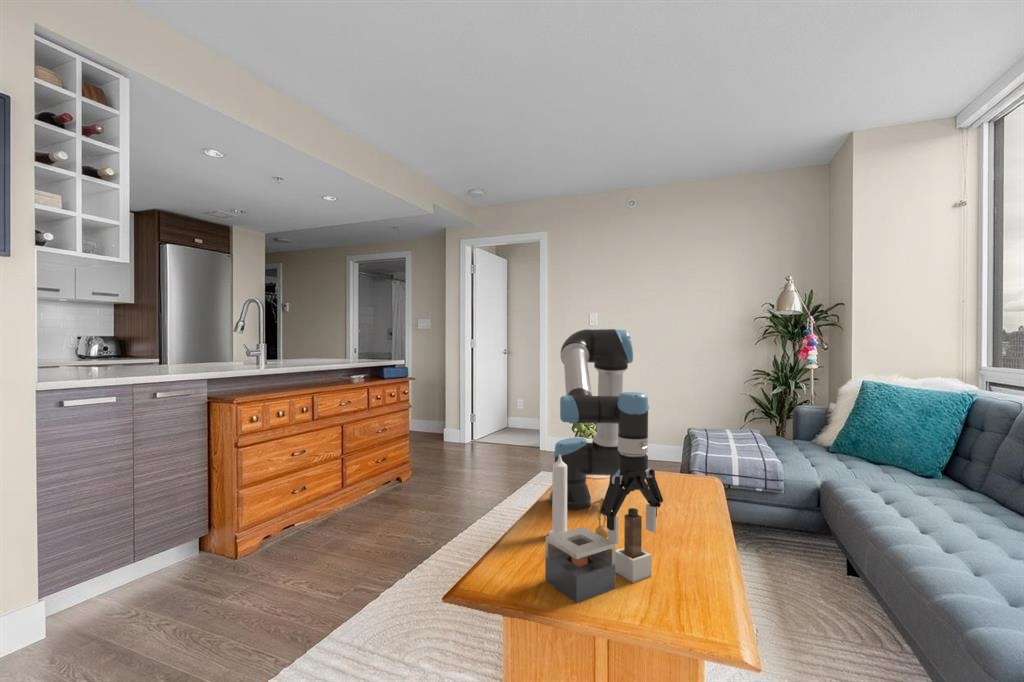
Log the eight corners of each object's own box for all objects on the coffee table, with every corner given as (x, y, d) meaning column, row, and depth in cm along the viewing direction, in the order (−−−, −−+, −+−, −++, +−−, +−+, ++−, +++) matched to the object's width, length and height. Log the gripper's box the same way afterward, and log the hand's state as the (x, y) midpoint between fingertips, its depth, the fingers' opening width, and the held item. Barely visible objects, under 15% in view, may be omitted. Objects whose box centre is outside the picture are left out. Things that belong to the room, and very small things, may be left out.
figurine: (587, 540, 143) (587, 500, 143) (589, 532, 149) (589, 494, 149) (615, 543, 141) (615, 502, 141) (616, 535, 147) (616, 496, 147)
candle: (543, 536, 146) (543, 454, 146) (557, 529, 152) (557, 450, 152) (561, 542, 142) (562, 458, 142) (575, 535, 147) (576, 454, 147)
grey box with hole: (545, 580, 119) (545, 536, 119) (582, 568, 125) (582, 526, 125) (576, 603, 109) (576, 554, 109) (615, 588, 115) (615, 543, 115)
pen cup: (613, 572, 124) (613, 550, 124) (632, 565, 127) (632, 545, 127) (632, 583, 118) (632, 560, 118) (651, 576, 122) (651, 554, 122)
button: (568, 581, 118) (568, 557, 118) (580, 577, 120) (580, 553, 120) (578, 588, 114) (578, 563, 114) (591, 584, 116) (591, 559, 116)
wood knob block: (624, 571, 123) (624, 509, 123) (632, 568, 125) (632, 506, 125) (633, 576, 120) (633, 512, 121) (641, 573, 122) (641, 510, 122)
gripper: (607, 462, 113) (606, 552, 113) (677, 450, 126) (676, 531, 126) (585, 456, 119) (585, 541, 119) (654, 445, 132) (654, 521, 132)
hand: (632, 536), depth 123 cm, fingers open, 13 cm apart
